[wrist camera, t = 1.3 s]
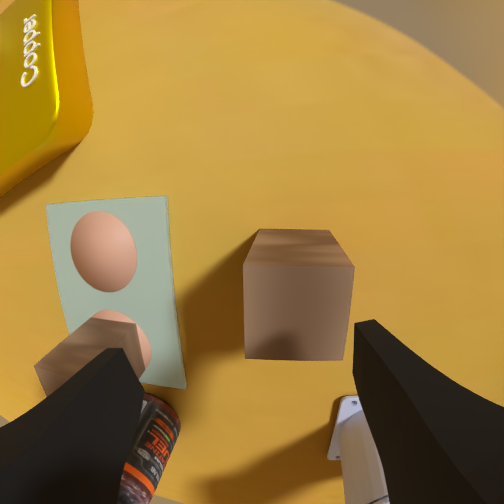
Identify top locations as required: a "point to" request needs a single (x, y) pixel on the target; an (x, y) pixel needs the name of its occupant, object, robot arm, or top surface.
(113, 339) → the block
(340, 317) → the walnut block
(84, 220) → the board
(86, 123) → the element tile
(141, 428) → the supplement bottle
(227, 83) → the top surface
